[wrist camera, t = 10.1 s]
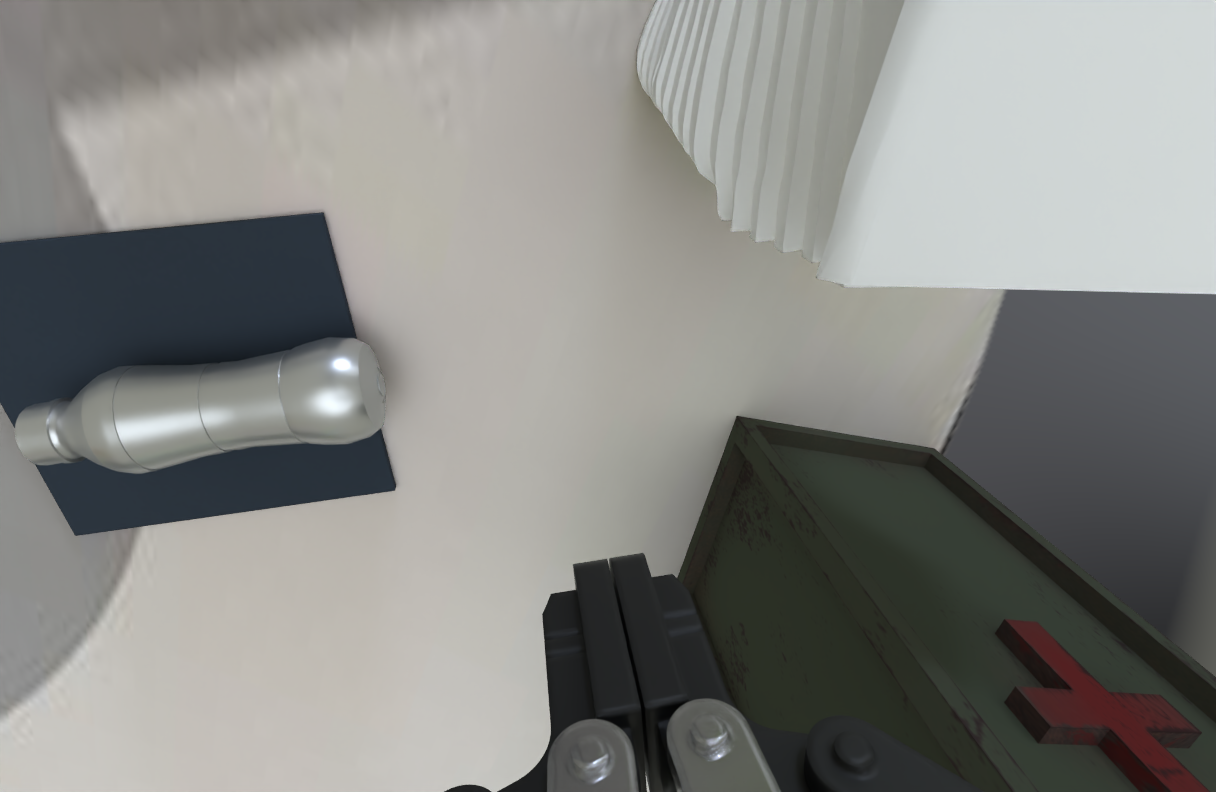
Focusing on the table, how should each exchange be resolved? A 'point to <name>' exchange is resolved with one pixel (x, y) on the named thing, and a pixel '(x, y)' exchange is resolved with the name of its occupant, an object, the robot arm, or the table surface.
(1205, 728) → the first aid box
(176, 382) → the silver bottle
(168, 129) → the table surface
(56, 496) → the rubber mat
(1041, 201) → the paper stack
